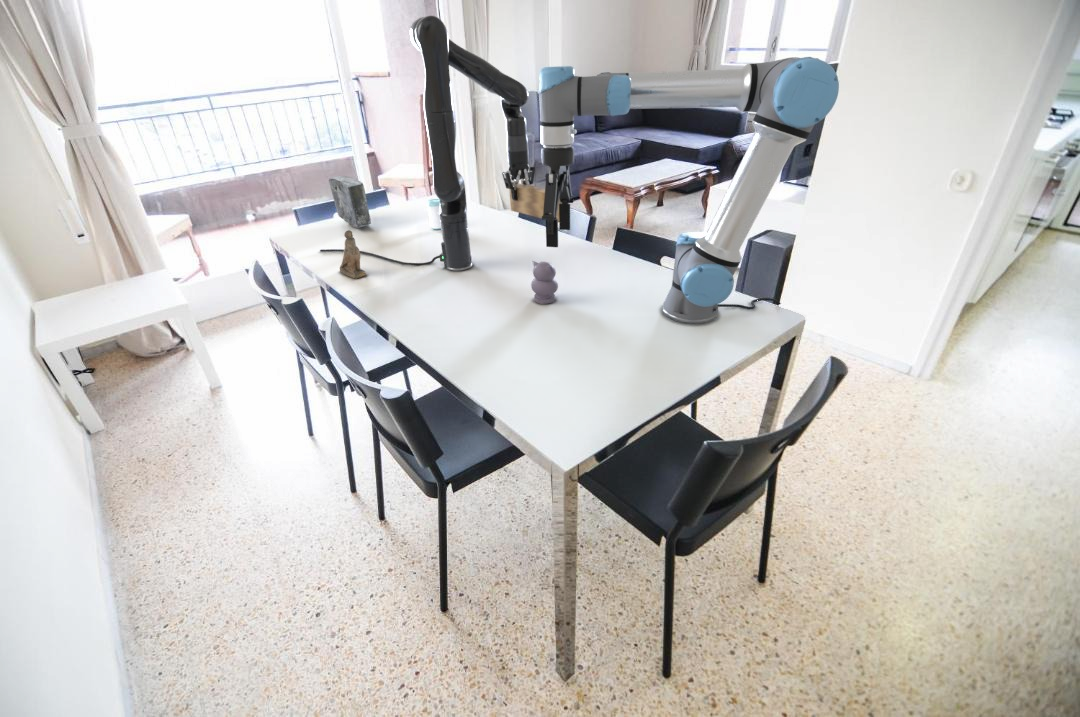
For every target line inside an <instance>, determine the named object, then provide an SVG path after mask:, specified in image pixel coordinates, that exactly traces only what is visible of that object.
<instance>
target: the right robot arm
mask: <svg viewBox="0 0 1080 717" xmlns="http://www.w3.org/2000/svg"><path fill="white" fill-rule="evenodd" d="M538 82H539V88H538V89H539V90H538V99H539V101H538V102H539V124H540V125H539V129H540V133H539V134H540V144H541V145H542V146H541V148H540V160H541V164H542V166H545V167H549V173H548V172H547V173H545V185H544V188H545V198H544V210H543V216H542V218H541V220H542V221H545V238H546V239H545V243H546V244H545V245H546V248H558V247H559V230H561V231H571V204H573V203H574V198H573V192H572V183H571V175H570V174H571V173H570V166H571V165H573V164H574V163H575V147H574V146H573V144H574V143H575V135H576V134H577V129H576V128H575V117H581V116H611V117H615V116H623V115H627V114H628V113H629V112H630V110H638V109H639V110H642V109H643V110H645V109H648V110H649V109H694V108H695V109H701V108H703V109H704V108H706V109H707V108H711V109H712V108H736V109H737V110H738V111H739V112H740V113H745V112H747V113H755V115H754V116H753V119H752V121H751V124H752V126H753V130H754V133H753V136H752V138H751V140H750V142H749V144H748V146H747V148H746V150H745V151H744V152H745V153H744V154H743V156H742V159H741V161H740V163H739V164H738V166H737V169H736V171H735V173H734V176H733V177H732V179H731V181H730V184H729V185H728V188H727V190H726V191H725V194H724V196H723V198H722V200H721V202H720V205H719V207H717V210H716V212H715V215H714V217H713V219H712V221H711V223H710V225H709V227H708V229H707V230H706V232H705V231H689V232H688V231H687V232H683V233H681V234H679V235H678V237H677V240H676V244H675V254H674V264H673V271H672V279H671V280H672V282H671V283H672V284H671V287H670V289H669V291H668V292H667V295H666V297H665V299H664V301H663V305H662V313H663V315H664V316H665V317H666V318H668V319H669V320H672V321H673V322H677V323H681V324H687V325H703V324H709V323H711V322H713V321H715V320H716V319H717V317H718V315H719V314H718V313H719V308H741V309H745V310H754V309H755V308H756V303H758V302H763V301H770V302H773V303H776V304H777V305H781V304H782V303H781V302H780V301H779V300H777V299H775V298H772V297H761V298H755V299H752V300H751V301H750V305H751V306H748V305H744V304H737V303H723V302H724V301H726V300H727V299H728V298H729V297H730V296H731V294H732V292H733V290H734V285H735V284H734V283H735V278H734V275H735V273H736V271H737V269H738V268H739V265H740V264H741V262H742V260H743V258H742V255H741V251H740V250H741V248H742V246H743V245H744V242H745V241H746V238H747V237H748V234H749V233H750V231H751V229H752V228H753V225H754V223H755V221H756V219H757V217H758V215H759V214H760V212H761V210H762V208H763V206H764V204H765V202H766V200H767V199H768V197H769V195H770V193H771V192H772V189H773V188H774V186H775V184H776V182H777V180H778V178H779V177H780V174H781V173H782V170H783V169H784V167H785V165H786V163H787V161H788V160H789V157H790V155H791V154H792V151H793V150H794V148H795V147H796V146H798V145H799V144H802V143H804V142H806V141H807V139H808V138H809V136H810V134H811V133H812V130H813V128H814V126H816V124H818V123H819V122H821V121H823V119H825V118H826V117H827V116H828V115H829V113H830V112H831V111H832V109H833V108H834V106H835V104H836V102H837V99H838V96H839V91H840V81H839V78H838V75H837V72H836V71H835V68H833V66H832V65H830V64H829V63H828V62H826V61H825V60H822V59H819V58H818V57H812V56H804V57H796V56H795V57H786V58H785V57H784V58H782V59H776V60H772V61H771V60H770V61H765V62H757V63H746V64H745V65H744V66H743V67H742V68H736V69H735V68H734V69H732V68H731V69H700V70H699V69H698V70H672V71H671V70H669V71H668V70H667V71H644V72H643V71H638V72H637V71H634V72H633V71H632V72H609V71H607V72H600V73H599V74H597V75H591V76H579V75H576V73H575V68H574V67H573V66H571V65H561V66H560V65H559V66H556V65H555V66H545V67H542V68H541V70H540V71H539V81H538ZM574 128H575V129H574ZM559 199H560V202H561V203H560V204H559ZM558 204H559V222H558V219H557V211H558ZM549 213H551V214H549ZM757 300H758V301H757Z"/></svg>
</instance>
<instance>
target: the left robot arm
mask: <svg viewBox="0 0 1080 717" xmlns="http://www.w3.org/2000/svg"><path fill="white" fill-rule="evenodd" d="M409 29H410V30H409V35H410V41H411V43H412V45H413V46H414V47H415V49H416V50H417V51H418V52H420V53H421V55H422V60H423V67H424V75H425V76H424V77H425V78H424V89H423V91H424V92H423V113H424V121H425V126H426V132H427V138H428V145H429V150H430V154H431V161H432V185H433V186H432V187H433V192H434V194H435V196H436V197H437V199H440V212H439V215H440V223H441V229H440V230H441V235H442V242H441V243H440V246H441V250H442V251H441V253H440V254H439V255H436V256H434V257H433V258H432V259H431V260H430V261H427V262H406V261H405V262H404V261H400V260H397V259H393V258H389V257H386V256H383V255H379V254H376V253H372V252H368V251H364V250H359V251H360V254H363V255H366V256H367V255H368V256H372V257H375V258H378V259H381V260H386V261H389V262H392V263H396V264H400V265H403V266H404V265H405V266H426V265H431V264H433V263H434V262H435V261H436V260H437V259H439V262H443V267H444V269H445V270H449V271H454V272H459V271H467V270H469V269H471V268H472V266H473V258H472V257H473V256H472V250H471V242H470V234H469V224H468V216H467V210H468V208H467V207H468V206H467V205H468V204H467V194H466V184H465V180H464V177H463V176H462V175H461V173H460V172H459V171H458V170H457V164H456V140H457V138H456V137H457V124H456V122H457V121H456V112H455V106H454V99H453V98H454V97H453V89H452V83H451V76H450V75H451V74H450V67H451V68H453V69H454V70H456V71H457V72H459V73H460V74H462V75H464V76H465V77H466V78H468V79H469V80H471V81H472V82H474V83H475V84H476V85H478V86H479V87H480V88H482V89H484V90H486V91H487V92H489V93H490V94H494V95H497V96H498V97H499V98H500V106H501V109H502V114H503V117H504V120H505V134H506V141H505V145H506V156H507V157H506V158H507V165H508V170H506V171H503V172H502V173H501V175H502V179H503V182H504V186H505V188H506V189H508V190H509V189H511V197H512V199H513V200H514V201H517V200H518V196H517V190H516V189H517V184H518V183H520V181H521V184H525V185H530V186H532V185H534V181H535V173H536V167H535V166H533V165H529V162H530V154H529V153H530V152H529V139H528V130H527V119H526V117H525V116H524V114H523V113H522V109H521V108H522V107H524V106H526V104H527V103H528V102H529V101H528V100H529V91H528V89H527V87H526V86H525V85H524V84H523V83H522V82H520V81H518V80H516V79H515V78H513V77H511V76H509V75H507V74H505V73H504V72H502V71H500V69H498V68H497V67H496V66H494V65H492V64H491V63H490V62H488V61H487V60H485V59H484V58H482V57H481V56H478V55H476V54H475V53H473V52H471V51H469V50H467V49H465V48H464V47H461V45H459V44H457V43H455V41H453V40H451V39H450V38H449V34H448V33H449V32H448V30H447V26H446V25H445V23H444V22H443V21H442V20H441V19H440V18H439V17H437V16H436V15H425V16H421V17H419V18H416V20H414V21H413V22H412V24H411V25H410V28H409ZM344 249H345V248H344ZM344 249H341V248H338V249H337V248H334V249H332V248H331V249H329V248H328V249H319V252H320V253H325V252H326V253H327V252H328V253H329V252H340V253H341V252H342V253H344Z"/></svg>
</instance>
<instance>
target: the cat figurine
mask: <svg viewBox="0 0 1080 717" xmlns="http://www.w3.org/2000/svg"><path fill="white" fill-rule="evenodd" d="M532 265H533V269H532V276H533V277H534V278H533V279H532V281H531V283H530V286H531V290H532V291H533V292H534V295H533V297H534V302H535V303H537V304H542V305H547V304H551V303H553V302H554V301H555V300H556V298H555V297H556V292H557V291H558V289H559V283H558V281H557V279H556V278H555V276H556V273H557V272H556V267H555V266H554V265H553V264H552V263H550V262H548V261H541V262H537V261H535V260H532Z"/></svg>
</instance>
